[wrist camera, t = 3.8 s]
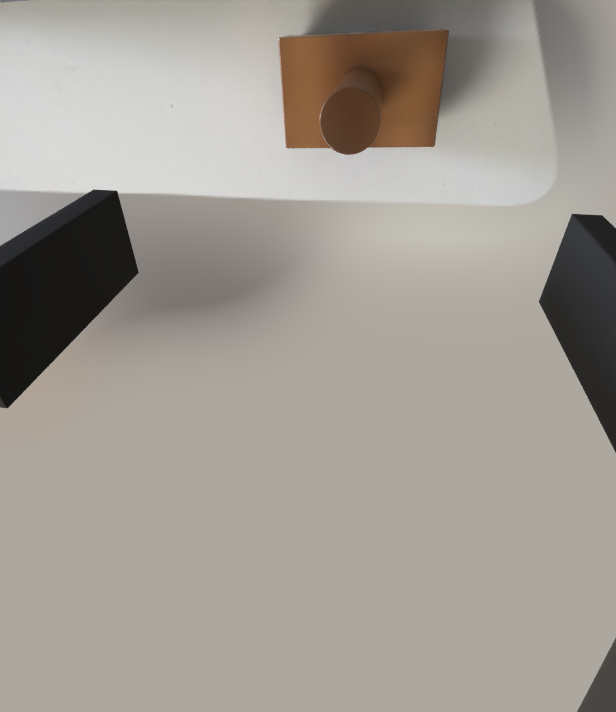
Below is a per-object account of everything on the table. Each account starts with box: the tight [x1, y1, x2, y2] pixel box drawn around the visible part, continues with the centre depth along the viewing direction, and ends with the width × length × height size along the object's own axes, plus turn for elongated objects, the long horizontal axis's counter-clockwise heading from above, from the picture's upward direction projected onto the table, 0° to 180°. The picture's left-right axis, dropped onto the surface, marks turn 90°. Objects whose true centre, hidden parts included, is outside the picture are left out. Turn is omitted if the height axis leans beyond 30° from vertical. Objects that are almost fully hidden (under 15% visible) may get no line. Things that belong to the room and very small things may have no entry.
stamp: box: [279, 28, 449, 155], centre depth 23 cm, size 9×6×12 cm, turn 93°
